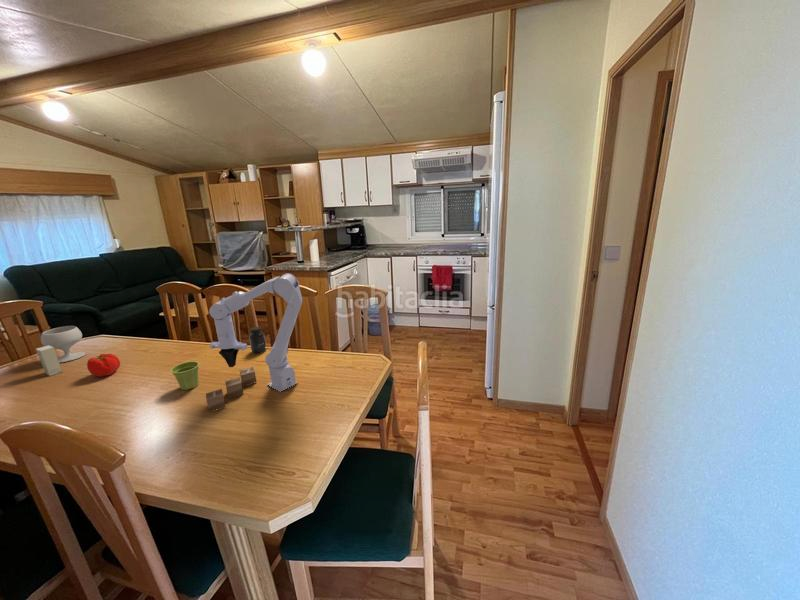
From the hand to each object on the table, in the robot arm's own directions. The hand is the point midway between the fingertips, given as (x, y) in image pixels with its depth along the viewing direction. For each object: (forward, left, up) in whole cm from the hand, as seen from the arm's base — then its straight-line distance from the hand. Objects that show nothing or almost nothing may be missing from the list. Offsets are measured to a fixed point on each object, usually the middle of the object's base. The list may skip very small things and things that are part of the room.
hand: (232, 366), depth 122 cm
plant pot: (+18, +10, -10) cm, 23 cm away
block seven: (+1, -5, -10) cm, 11 cm away
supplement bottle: (+26, -24, -10) cm, 36 cm away
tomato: (+62, +27, -10) cm, 68 cm away
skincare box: (+85, +41, -10) cm, 95 cm away
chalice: (+101, +34, -10) cm, 107 cm away
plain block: (-3, +2, -10) cm, 10 cm away
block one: (-6, +10, -10) cm, 15 cm away
